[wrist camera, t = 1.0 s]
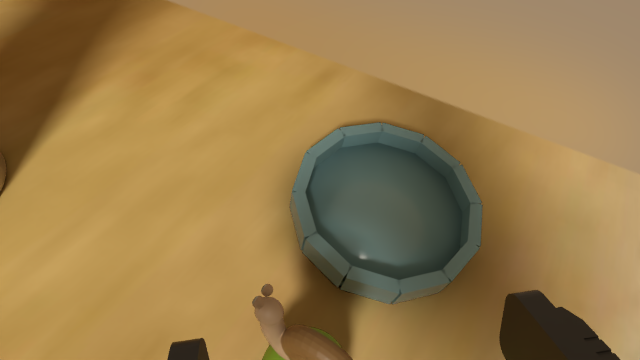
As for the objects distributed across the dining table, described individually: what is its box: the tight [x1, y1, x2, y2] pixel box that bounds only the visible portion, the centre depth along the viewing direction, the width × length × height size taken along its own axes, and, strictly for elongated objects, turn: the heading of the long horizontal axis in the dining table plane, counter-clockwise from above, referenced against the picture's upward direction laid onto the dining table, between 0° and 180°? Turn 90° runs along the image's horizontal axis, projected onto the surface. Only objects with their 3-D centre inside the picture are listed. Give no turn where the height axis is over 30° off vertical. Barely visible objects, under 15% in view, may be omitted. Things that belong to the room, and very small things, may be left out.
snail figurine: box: [252, 284, 353, 360], centre depth 23 cm, size 5×6×12 cm
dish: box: [290, 122, 483, 304], centre depth 35 cm, size 15×15×2 cm
